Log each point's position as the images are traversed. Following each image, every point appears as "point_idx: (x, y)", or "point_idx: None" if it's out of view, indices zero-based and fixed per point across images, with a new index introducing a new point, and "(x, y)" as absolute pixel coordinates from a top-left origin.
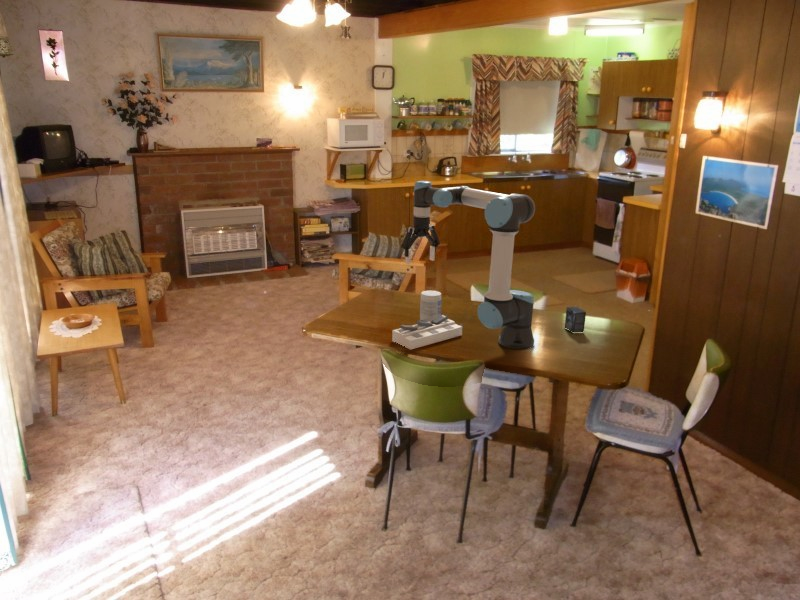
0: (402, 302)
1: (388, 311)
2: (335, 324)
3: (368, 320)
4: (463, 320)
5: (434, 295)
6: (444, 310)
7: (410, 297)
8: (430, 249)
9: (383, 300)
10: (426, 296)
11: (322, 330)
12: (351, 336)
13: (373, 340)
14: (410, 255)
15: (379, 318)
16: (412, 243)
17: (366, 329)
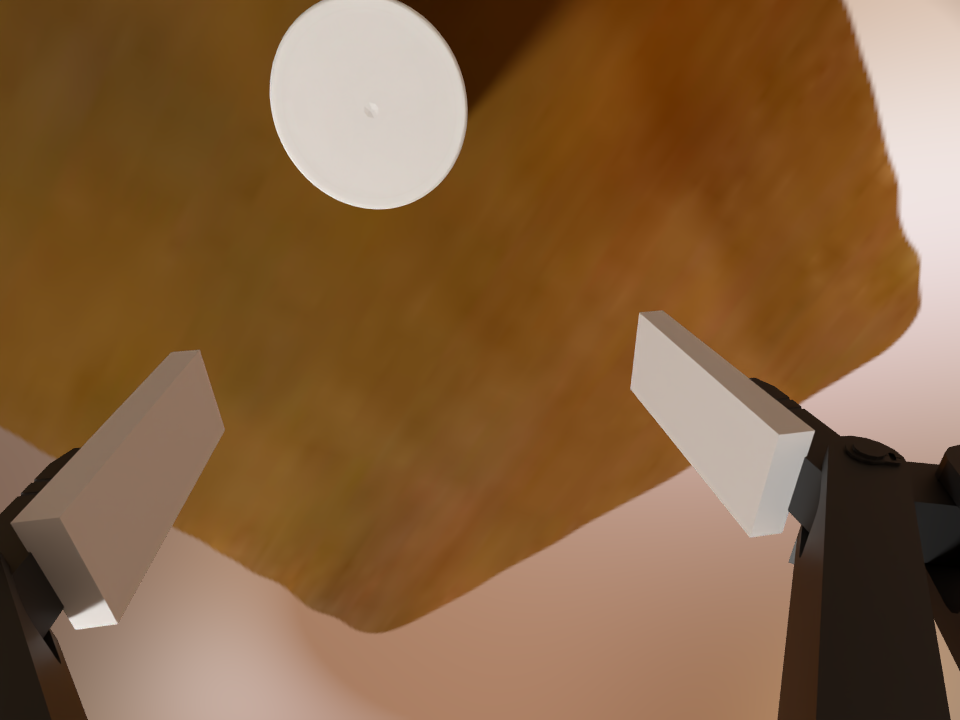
0: (351, 474)
1: (488, 386)
2: (801, 322)
3: (650, 309)
4: (122, 40)
5: (384, 9)
6: (175, 283)
7: (274, 522)
8: (149, 543)
9: (422, 522)
10: (455, 59)
11: (897, 275)
12: (871, 132)
13: (839, 4)
14: (713, 372)
15: (587, 313)
16: (850, 568)
17: (745, 193)
